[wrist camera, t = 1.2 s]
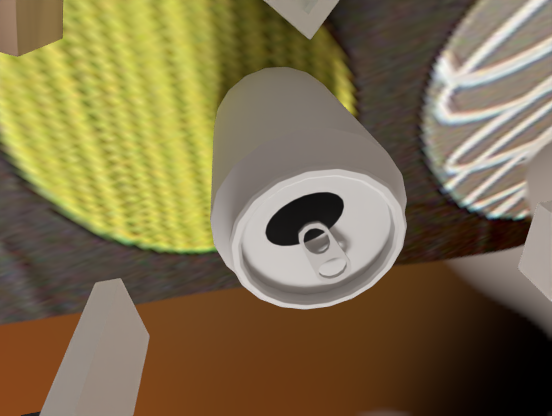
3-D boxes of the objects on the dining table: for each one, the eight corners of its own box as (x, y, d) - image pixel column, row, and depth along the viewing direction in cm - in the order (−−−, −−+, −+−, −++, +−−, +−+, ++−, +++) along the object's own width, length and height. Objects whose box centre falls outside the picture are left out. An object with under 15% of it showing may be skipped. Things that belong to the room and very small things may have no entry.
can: (302, 36, 20) (386, 99, 10) (353, 145, 24) (450, 270, 14) (188, 107, 21) (160, 227, 11) (254, 199, 25) (278, 350, 15)
